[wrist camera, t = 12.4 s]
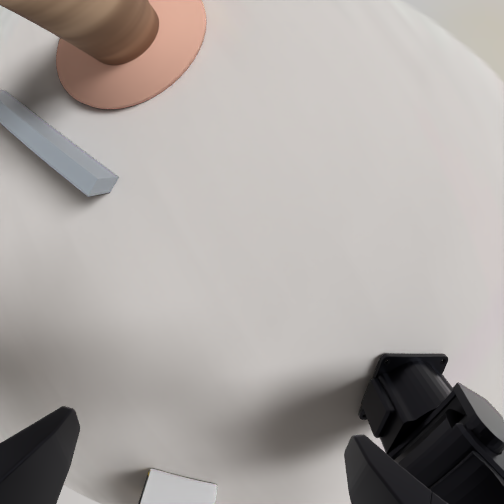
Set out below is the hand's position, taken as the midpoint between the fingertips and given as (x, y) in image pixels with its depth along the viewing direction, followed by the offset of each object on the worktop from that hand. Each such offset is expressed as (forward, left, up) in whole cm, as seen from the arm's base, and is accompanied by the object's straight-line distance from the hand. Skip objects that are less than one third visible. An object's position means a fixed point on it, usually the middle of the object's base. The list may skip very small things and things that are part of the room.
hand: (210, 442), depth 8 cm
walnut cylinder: (+10, -17, -12) cm, 23 cm away
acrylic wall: (+15, -10, -13) cm, 22 cm away
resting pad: (+10, -17, -13) cm, 23 cm away
